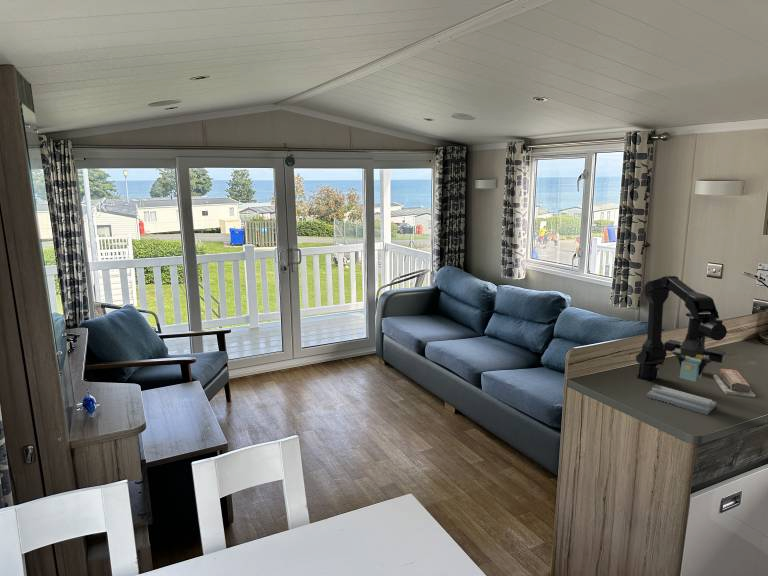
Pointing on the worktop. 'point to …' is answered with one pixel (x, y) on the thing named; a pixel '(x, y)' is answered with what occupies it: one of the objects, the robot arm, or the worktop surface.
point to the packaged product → (733, 383)
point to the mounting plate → (681, 402)
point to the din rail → (682, 395)
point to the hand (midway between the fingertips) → (690, 373)
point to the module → (690, 369)
